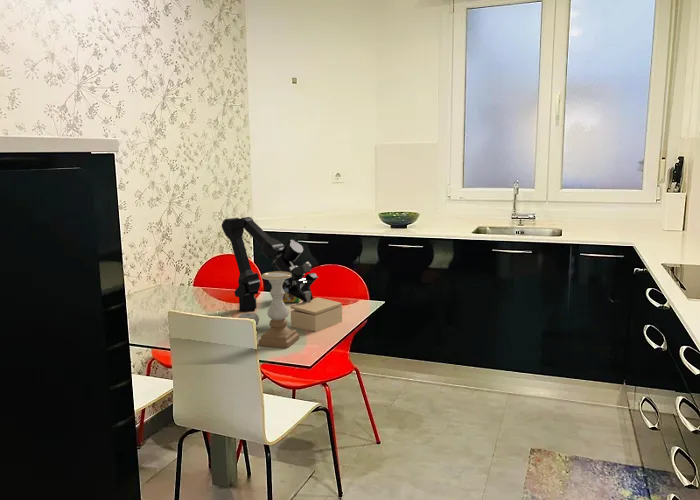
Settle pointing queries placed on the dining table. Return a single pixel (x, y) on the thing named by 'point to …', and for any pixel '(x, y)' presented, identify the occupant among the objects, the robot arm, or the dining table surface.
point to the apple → (250, 316)
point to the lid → (315, 304)
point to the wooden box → (316, 319)
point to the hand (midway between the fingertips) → (309, 300)
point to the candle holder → (278, 315)
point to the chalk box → (290, 297)
